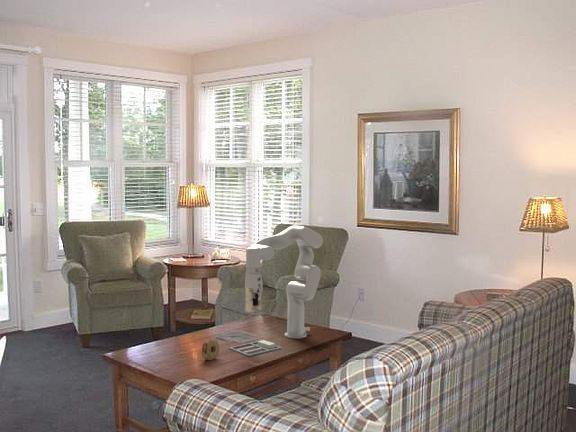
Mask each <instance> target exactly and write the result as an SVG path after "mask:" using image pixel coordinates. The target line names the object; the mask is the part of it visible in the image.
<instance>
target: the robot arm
mask: <svg viewBox="0 0 576 432" xmlns="http://www.w3.org/2000/svg"><path fill="white" fill-rule="evenodd" d="M295 242H296V245H297V247H298V250H299V255H298V259H297V262H296V265H295V268H294V272H293V274H294V277H295V278H296V279H297V280H291V281H290V282H288V284H287V285H286V287H285V291H286V292H285V293H286V298H287V299H286V300H287V321H286V323H287V325H286V330H287V331H286V332H285V333H284V337H285V338H288V339H295V340H297V339H304V338H307V336H308V335H307V333H306V332H309V331H310V330H311V327H308V326H307V327H305V302H304V301H311V300H313V299H314V298H315V295H316V293H317V290H318V286H319V283H320V280H321V274H322V273H321V272H322V271H321V268H320V267H319V266H318V265H315V264H313V263H314V259H315V254H314V251H313V249H319V248H321V247H322V245H323V243H324V239H323V236H322V235H321V234H320V233H318V232H317V231H315V230H313V229H311V228H310V227H307V226H304V225H291V226H288V227H287V228H286V229H284V230H282V231H280V232H279V233H277V234H275V235H270V236H267V237H264V238H262V239H260V240H258V241H256V242H255V243H253V244H252V245H251V246H249V247H248V246H247V248H246V250H245V253H246V254H245V268H246V269H245V270H246V271H245V278H244V292H246V289H252V292H253V297H254V298H253V306H257V305H258V298H259V296H260V295H261V296H262V295H263V291H264V289H263V287H264V285H263V283H264V282H263V277H262V275H263V274H262V273H261V261H269V260H271V259H273V257H274V256H275V250H283V249H285V248H287V247H288V246H290V245H292V244H293V243H295ZM298 280H301V281H298ZM304 281H305V282H304ZM256 293H257V294H256Z"/></svg>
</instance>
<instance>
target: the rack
mask: <svg viewBox="0 0 576 432" xmlns="http://www.w3.org/2000/svg"><path fill="white" fill-rule="evenodd" d="M258 341H262V339H261V340H255V341H252V342H251V341H250V342H246V343H243V344H242V343H241V344H238V345H233V346H230V347H228V349H229V350H231V351H233V352H235V353H238V354H241V355H242V356H246V357H248V358H249V357H253V356H257V355H261V354H262V355H263V354H265V353H271V352H273V351H279V350H283V347H282V346H279V345H277V344H275V348H273V349H266V348H263V347H260V346H258ZM244 350H245V351H244ZM258 351H259V352H258Z"/></svg>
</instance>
